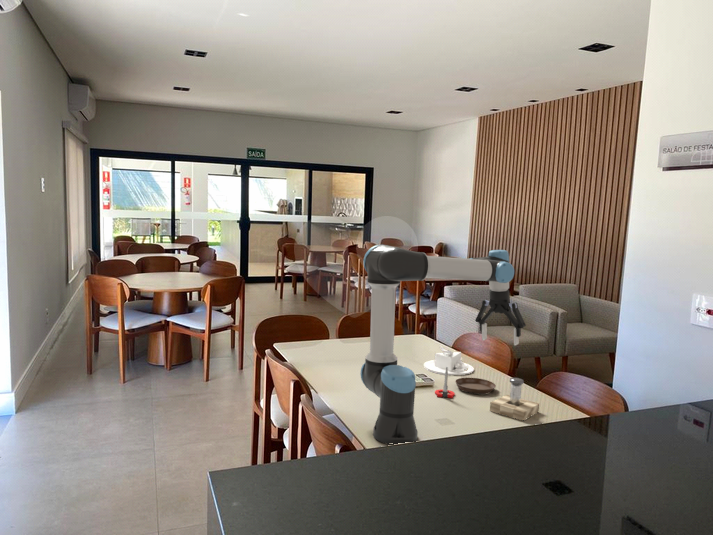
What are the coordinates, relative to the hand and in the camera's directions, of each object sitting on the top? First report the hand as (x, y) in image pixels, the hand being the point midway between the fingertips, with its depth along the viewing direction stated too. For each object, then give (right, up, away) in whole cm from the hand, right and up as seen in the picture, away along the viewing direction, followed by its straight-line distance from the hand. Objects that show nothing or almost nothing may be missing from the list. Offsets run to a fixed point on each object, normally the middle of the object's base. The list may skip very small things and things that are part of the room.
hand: (500, 342), depth 212 cm
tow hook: (-19, -25, +17) cm, 36 cm away
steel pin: (+6, -28, 0) cm, 28 cm away
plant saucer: (-4, -25, +27) cm, 37 cm away
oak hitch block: (+6, -28, 0) cm, 28 cm away
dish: (-10, -22, +58) cm, 63 cm away
